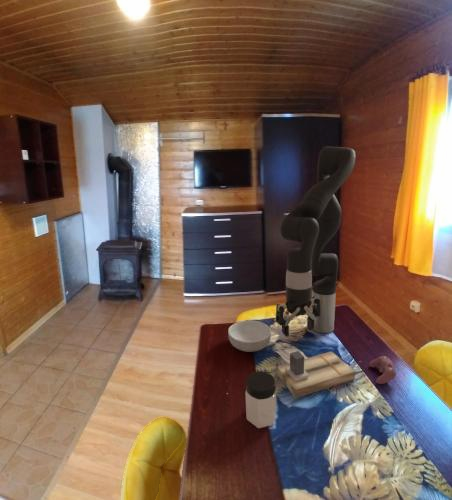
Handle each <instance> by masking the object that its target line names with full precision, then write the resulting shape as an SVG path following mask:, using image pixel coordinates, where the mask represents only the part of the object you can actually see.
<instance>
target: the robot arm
mask: <svg viewBox="0 0 452 500" xmlns="http://www.w3.org/2000/svg"><path fill="white" fill-rule="evenodd" d="M355 163H356V151H355V150H354V149H353V148H350V147H341V146H330V145H329V146H328V145H327V146H323V147H322V148H321V149H320V151H319V155H318V158H317V167H316V168H317V170H316V171H317V173H316V174H317V177H316V178H317V179H316V182H317V183H316V184H314V185H313V186H312V187H311V188H309V189H308V190H307V192H306V193H305V195H304V197H303V198H302V200H301V202H300V203H299V204H298V205H297V206H295V208H293V209H292V210H291V211H290V212H289V213H288V214H287V215H286V216H285V217H284V218H283V220H282V221H281V224H280V235H281V237H282V238H283V239H284V240H286V241H291V242H297V243H298V242H300V243H302V244H301V247H294V248H291V249H289V250H288V251H287V253H286V272H285V299H286V302H285V304H280V303H277V304H276V306H275V307H276V308H275V309H276V312H275V322H276V323H277V324H278V325H279V326H281V333H282V334H283V335H284V336H285V337H289V336H290V326H289V324H290V322H291V321H293V320H294V319H295V317H299V316H305V315H306V316H307V318H306V328H307V329H308V330H309V331H315V332H318V333H321V334H328V333H332V332H333V331H334V330H335V313H336V295H337V294H336V292H337V283H338V282H337V280H338V272H339V258H338V255H337V254H336V253H332V252H331V253H326V252H325V253H322V251H323V249H324V248H325V246H326V245H327V244H328V242H329V241H330V240H331V239H332V238H333V237H334V236H335V235H336V234H337V232H338V230H339V229H340V226H341V219H342V208H341V205H340V203H339V201H338V199H337V197H336V196H335V193H337V191H338V190H339V189H340V187H341V186H342V185H343V184H344V183H345V181H346V180H347V179H348V177H349V176H350V175H351V173H352V172H353V169H354V167H355ZM313 277H323V278H322V279H319V280H317V281H315V282H313Z"/></svg>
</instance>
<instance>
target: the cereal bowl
mask: <svg viewBox="0 0 452 500" xmlns="http://www.w3.org/2000/svg"><path fill="white" fill-rule="evenodd" d="M227 335H228V340H229V342H230V344H231V345H232V347H234V348H235V349H237V350H239V351H242V352H247V353H248V352H249V353H250V352H251V353H252V352H257V351H261V350H263V349H265V348H266V347H267V346H268V345H269V344H270V341H271V337H272V330H271V328H270V326H268V325H267V323H265V322H263V321H259V320H251V319H249V320H240V321H237V322H235V323H233V324H232V325H230V326H229V327H228V332H227Z"/></svg>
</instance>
